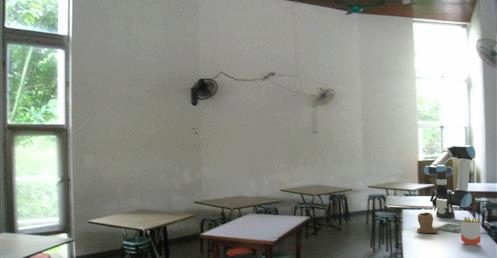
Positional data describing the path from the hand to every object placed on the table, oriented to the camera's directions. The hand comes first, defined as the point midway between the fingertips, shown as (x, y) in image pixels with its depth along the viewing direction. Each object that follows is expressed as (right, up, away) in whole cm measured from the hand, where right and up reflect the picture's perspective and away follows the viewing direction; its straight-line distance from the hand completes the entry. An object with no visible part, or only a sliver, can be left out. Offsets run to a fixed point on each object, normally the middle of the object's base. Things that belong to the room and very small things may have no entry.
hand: (442, 211), depth 337 cm
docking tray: (-1, -11, -17) cm, 20 cm away
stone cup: (-24, -11, -28) cm, 38 cm away
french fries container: (-9, -10, -60) cm, 62 cm away
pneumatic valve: (0, -2, +1) cm, 2 cm away
